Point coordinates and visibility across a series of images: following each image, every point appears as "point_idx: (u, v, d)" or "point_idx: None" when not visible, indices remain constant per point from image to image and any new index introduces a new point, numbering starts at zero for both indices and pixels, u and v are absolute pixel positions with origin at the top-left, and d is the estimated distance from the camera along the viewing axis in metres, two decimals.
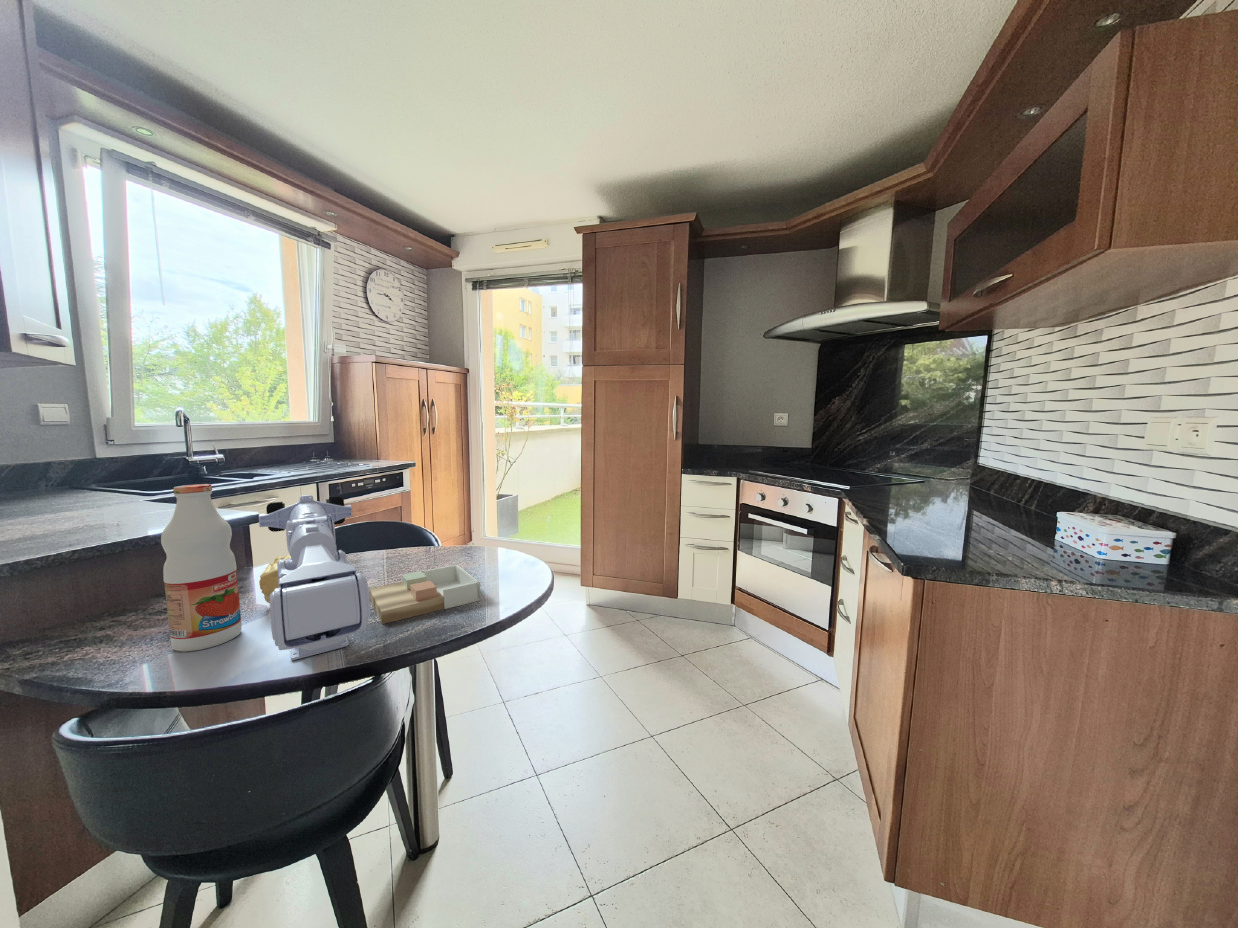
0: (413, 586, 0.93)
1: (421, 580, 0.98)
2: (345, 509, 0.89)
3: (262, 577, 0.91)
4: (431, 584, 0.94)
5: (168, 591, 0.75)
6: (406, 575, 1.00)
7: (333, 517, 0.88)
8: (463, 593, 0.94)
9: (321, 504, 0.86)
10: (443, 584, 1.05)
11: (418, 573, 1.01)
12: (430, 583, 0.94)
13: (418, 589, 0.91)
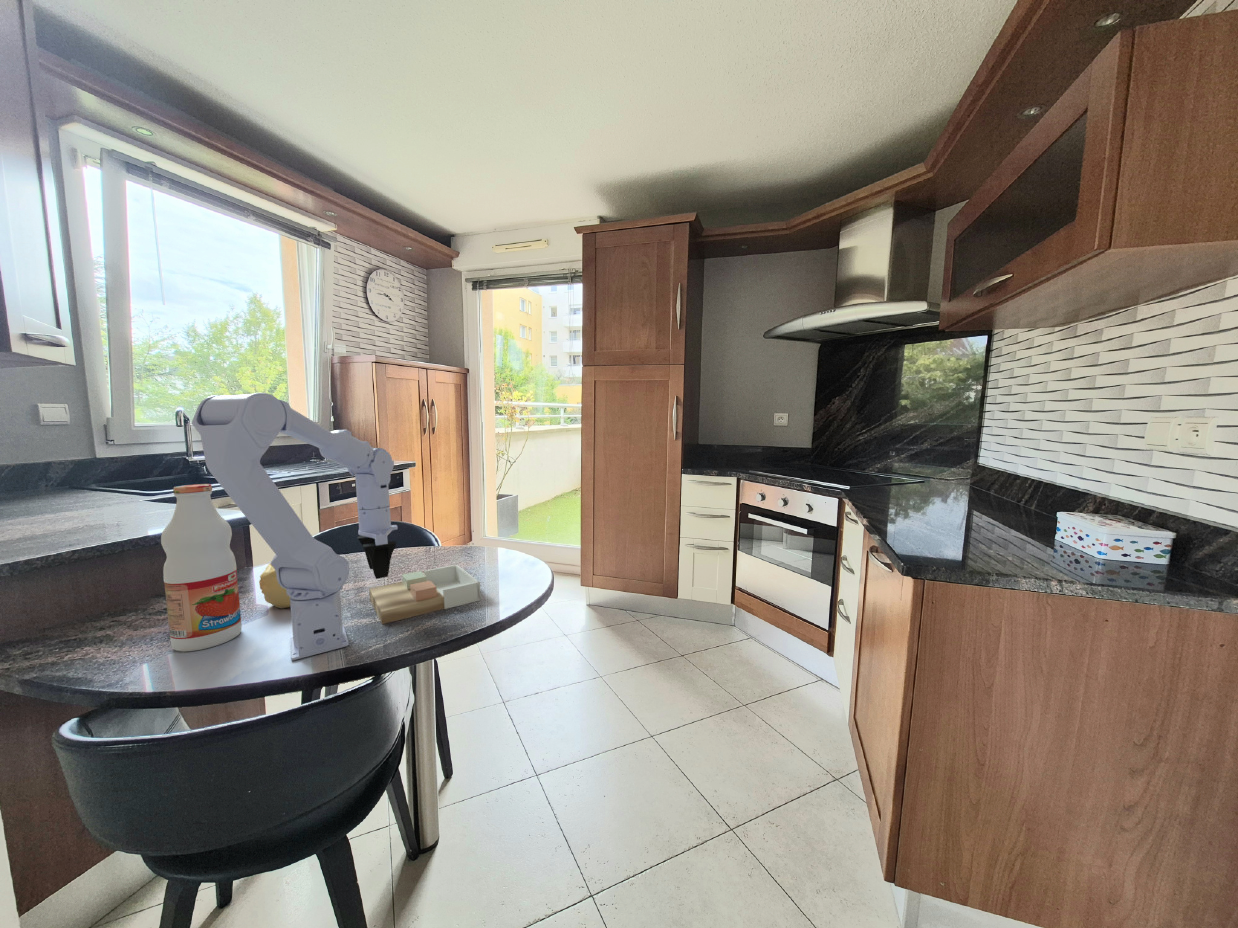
0: (413, 586, 0.93)
1: (421, 580, 0.98)
2: None
3: (262, 577, 0.91)
4: (431, 584, 0.94)
5: (168, 591, 0.75)
6: (406, 575, 1.00)
7: None
8: (463, 593, 0.94)
9: (388, 528, 0.90)
10: (443, 584, 1.05)
11: (418, 573, 1.01)
12: (430, 583, 0.94)
13: (418, 589, 0.91)
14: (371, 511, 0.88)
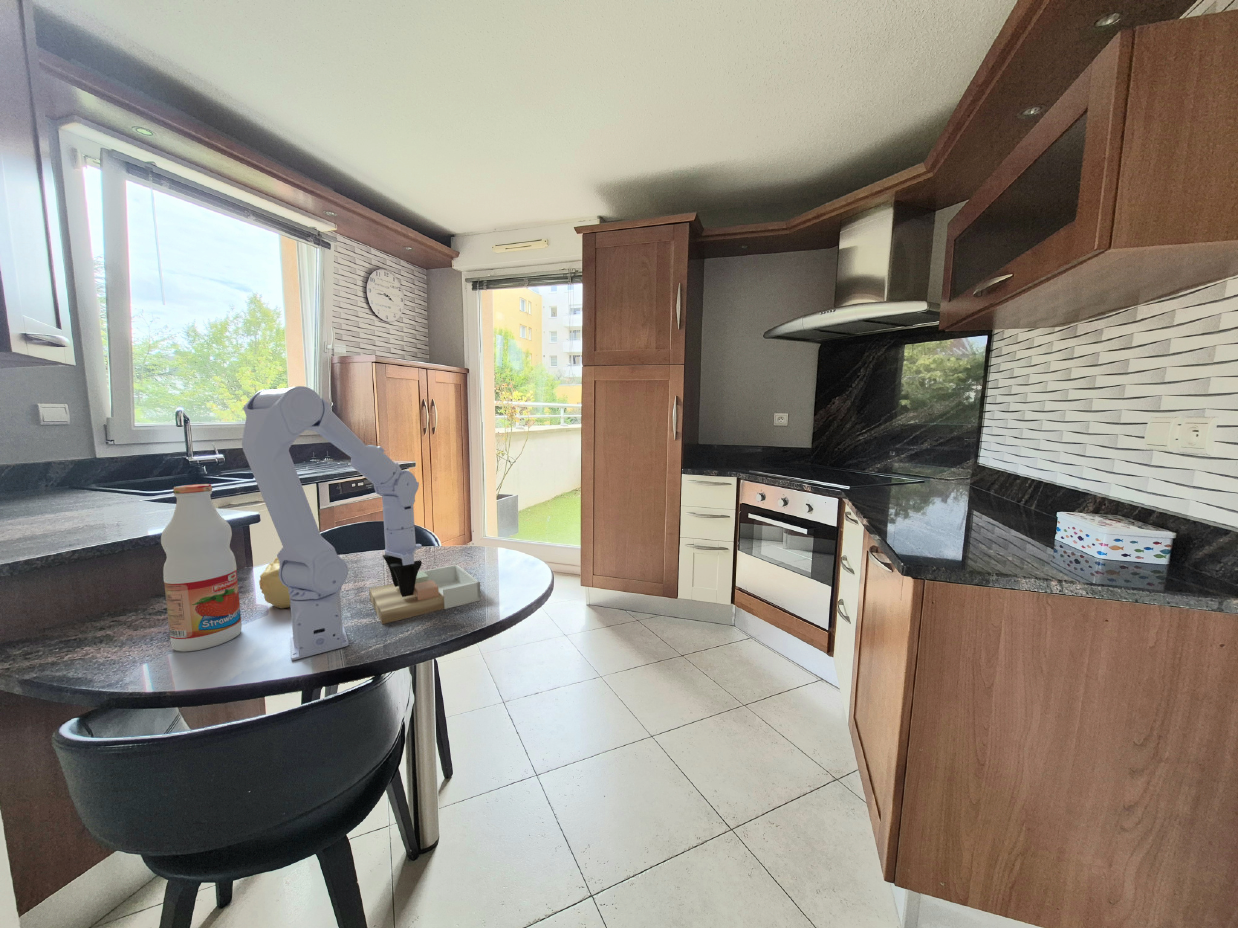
0: (415, 586, 0.93)
1: (423, 580, 0.98)
2: None
3: (262, 577, 0.91)
4: (433, 584, 0.94)
5: (168, 591, 0.75)
6: None
7: None
8: (463, 593, 0.94)
9: (413, 548, 0.93)
10: (443, 584, 1.05)
11: (420, 573, 1.01)
12: (432, 583, 0.94)
13: (420, 589, 0.91)
14: (397, 531, 0.91)
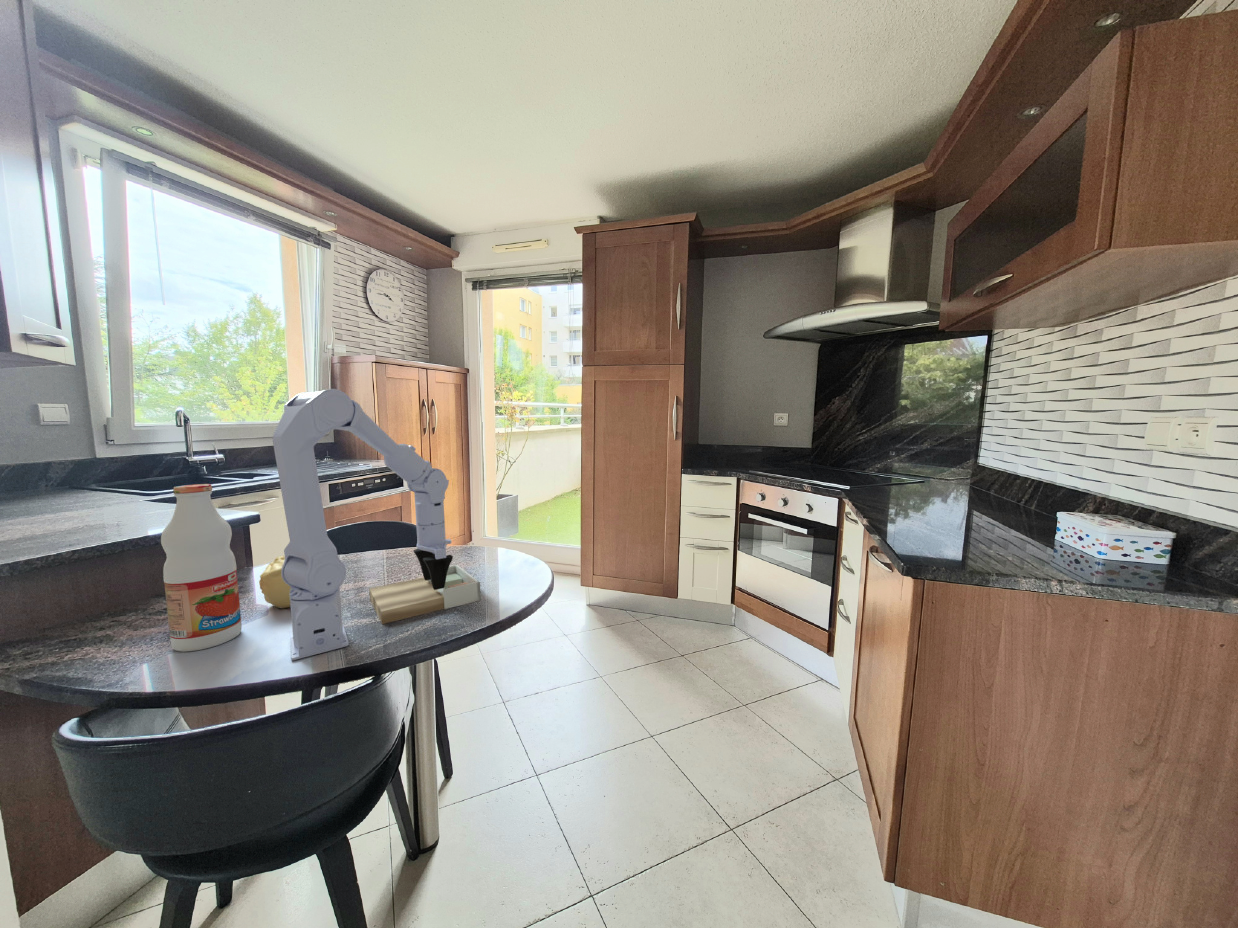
0: None
1: None
2: None
3: (262, 577, 0.91)
4: None
5: (168, 591, 0.75)
6: None
7: None
8: (463, 593, 0.94)
9: (444, 542, 0.97)
10: None
11: None
12: None
13: None
14: (429, 527, 0.95)
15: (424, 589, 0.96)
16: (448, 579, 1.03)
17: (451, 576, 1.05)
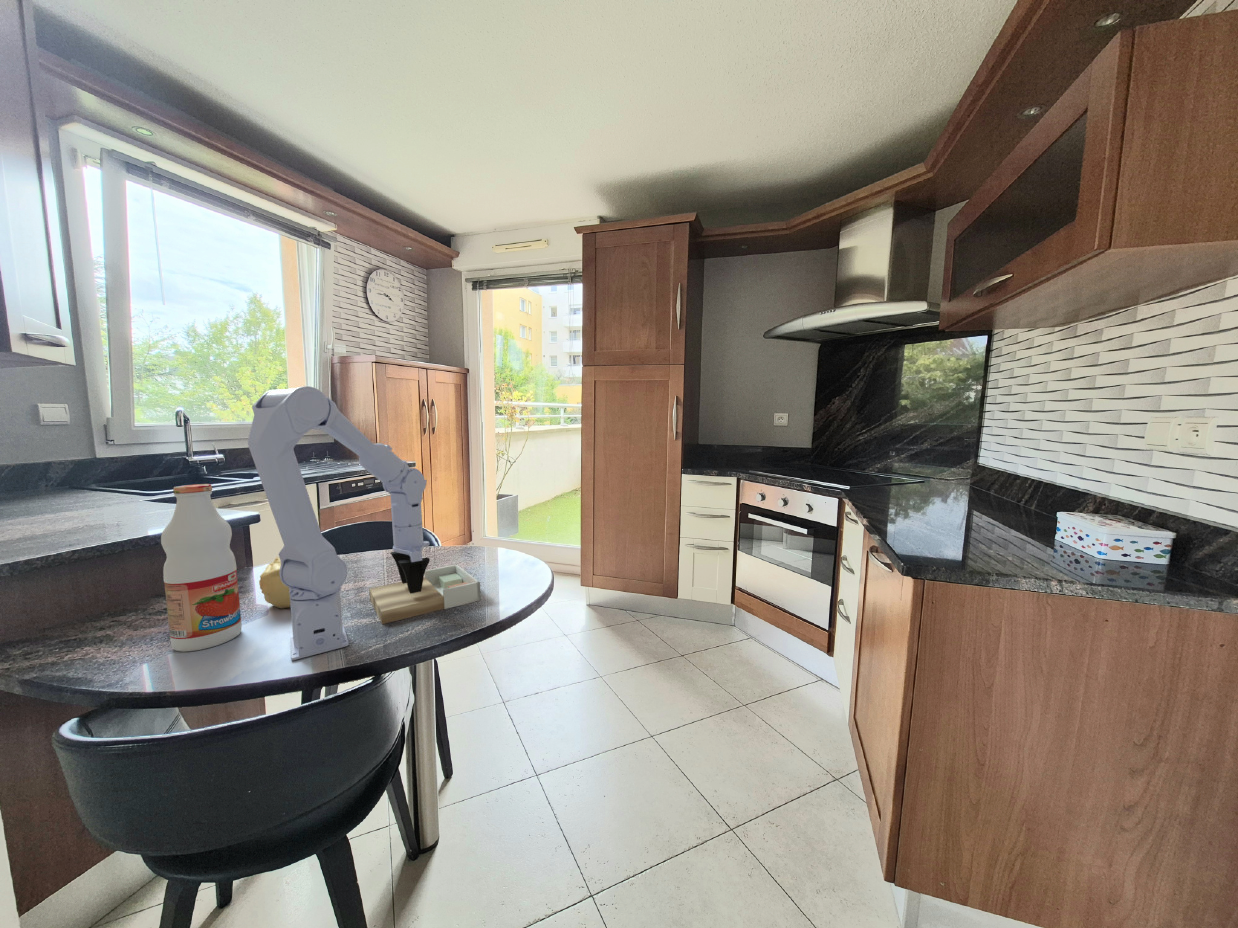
0: None
1: None
2: None
3: (262, 577, 0.91)
4: None
5: (168, 591, 0.75)
6: None
7: None
8: (463, 593, 0.94)
9: (421, 545, 0.94)
10: None
11: None
12: None
13: None
14: (406, 529, 0.92)
15: (424, 589, 0.96)
16: (448, 579, 1.03)
17: (451, 576, 1.05)
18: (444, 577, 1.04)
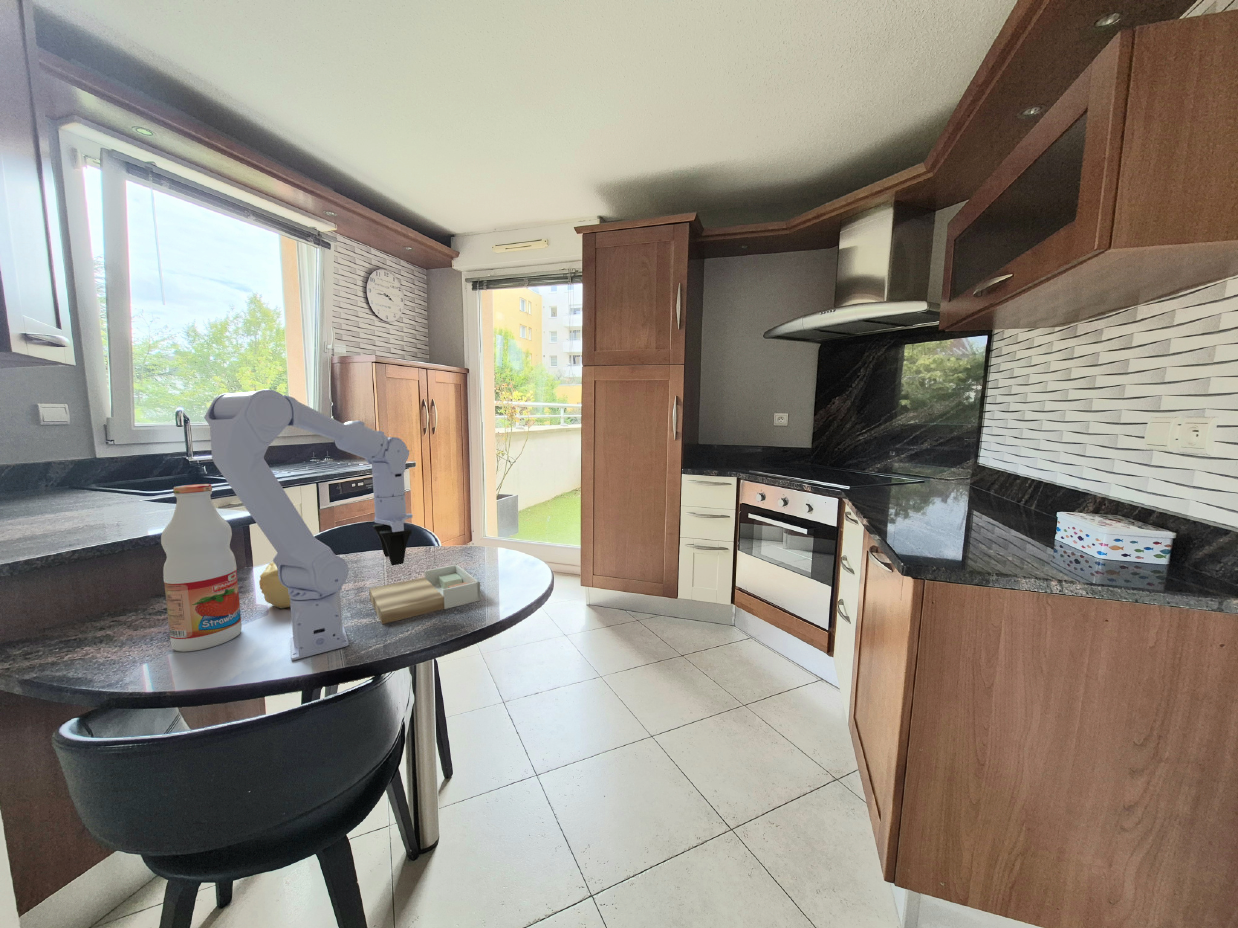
0: None
1: None
2: None
3: (262, 577, 0.91)
4: None
5: (168, 591, 0.75)
6: None
7: None
8: (463, 593, 0.94)
9: (404, 516, 0.92)
10: None
11: None
12: None
13: None
14: (387, 499, 0.89)
15: (424, 589, 0.96)
16: (448, 579, 1.03)
17: (451, 576, 1.05)
18: (444, 577, 1.04)
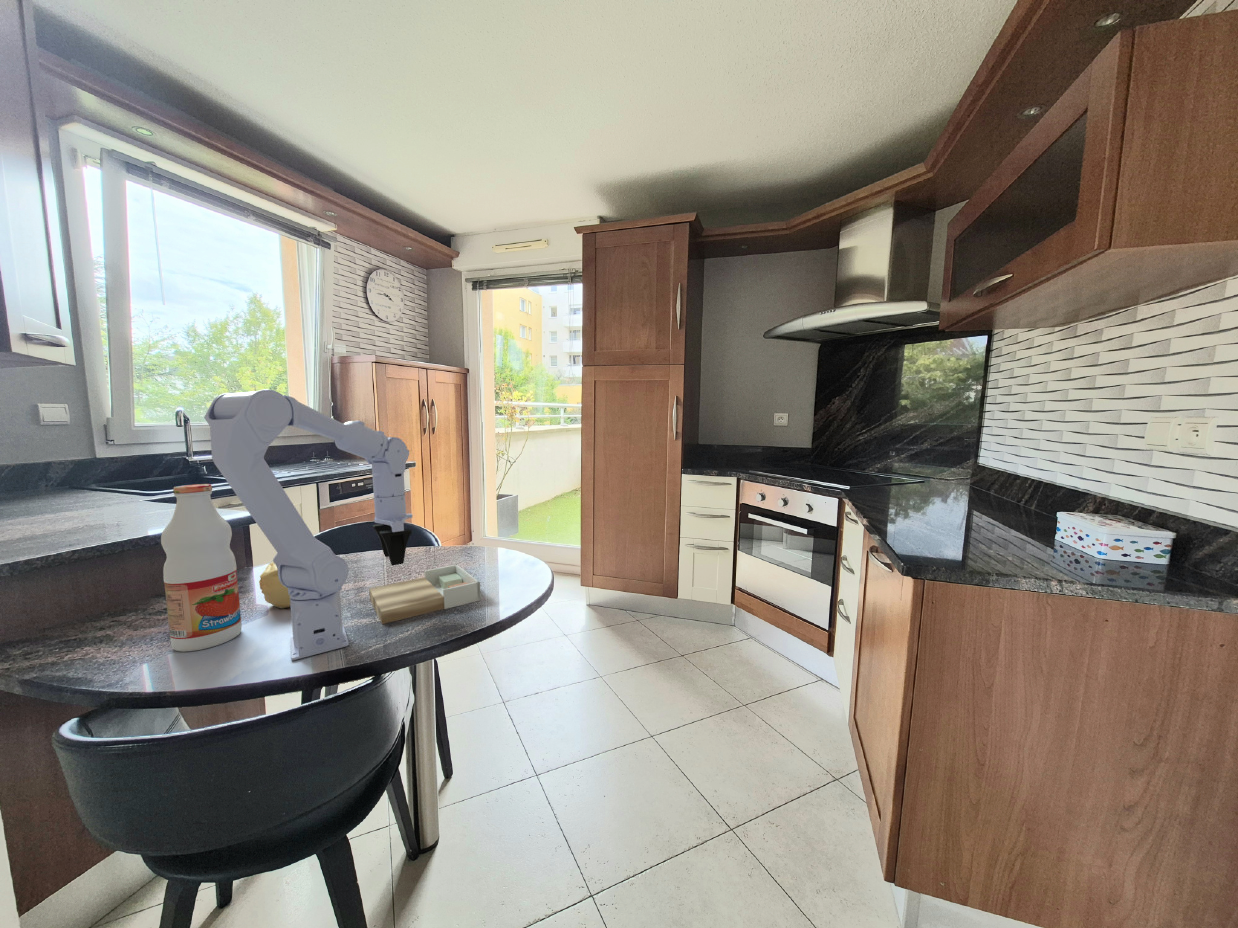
0: None
1: None
2: None
3: (262, 577, 0.91)
4: None
5: (168, 591, 0.75)
6: None
7: None
8: (463, 593, 0.94)
9: (404, 516, 0.92)
10: None
11: None
12: None
13: None
14: (387, 499, 0.89)
15: (424, 589, 0.96)
16: (448, 579, 1.03)
17: (451, 576, 1.05)
18: (444, 577, 1.04)
